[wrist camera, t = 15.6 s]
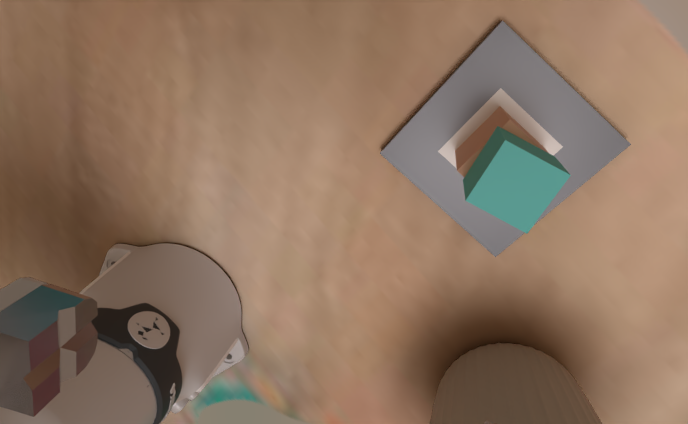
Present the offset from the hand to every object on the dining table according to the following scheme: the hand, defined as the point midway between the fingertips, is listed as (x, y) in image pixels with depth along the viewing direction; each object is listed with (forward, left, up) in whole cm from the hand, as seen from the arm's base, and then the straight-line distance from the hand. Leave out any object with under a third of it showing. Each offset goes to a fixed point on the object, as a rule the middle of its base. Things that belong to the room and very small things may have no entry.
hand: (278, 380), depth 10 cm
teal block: (+3, -8, -27) cm, 28 cm away
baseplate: (+3, -8, -34) cm, 35 cm away
